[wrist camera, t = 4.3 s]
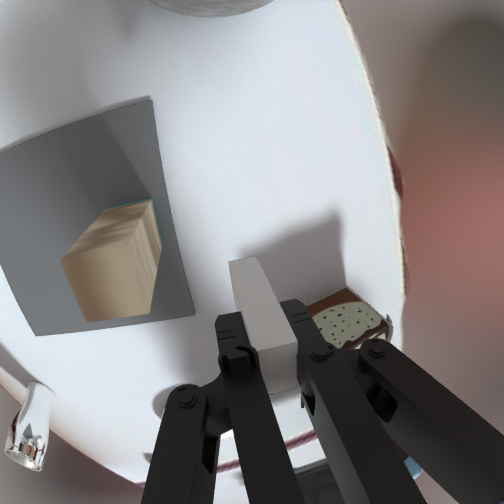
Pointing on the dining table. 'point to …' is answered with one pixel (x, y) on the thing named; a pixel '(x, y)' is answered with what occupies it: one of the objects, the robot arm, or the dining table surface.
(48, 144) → the mat
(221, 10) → the vase
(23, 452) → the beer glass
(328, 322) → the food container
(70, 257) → the maple block
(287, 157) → the dining table surface
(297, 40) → the dining table surface
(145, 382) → the dining table surface
